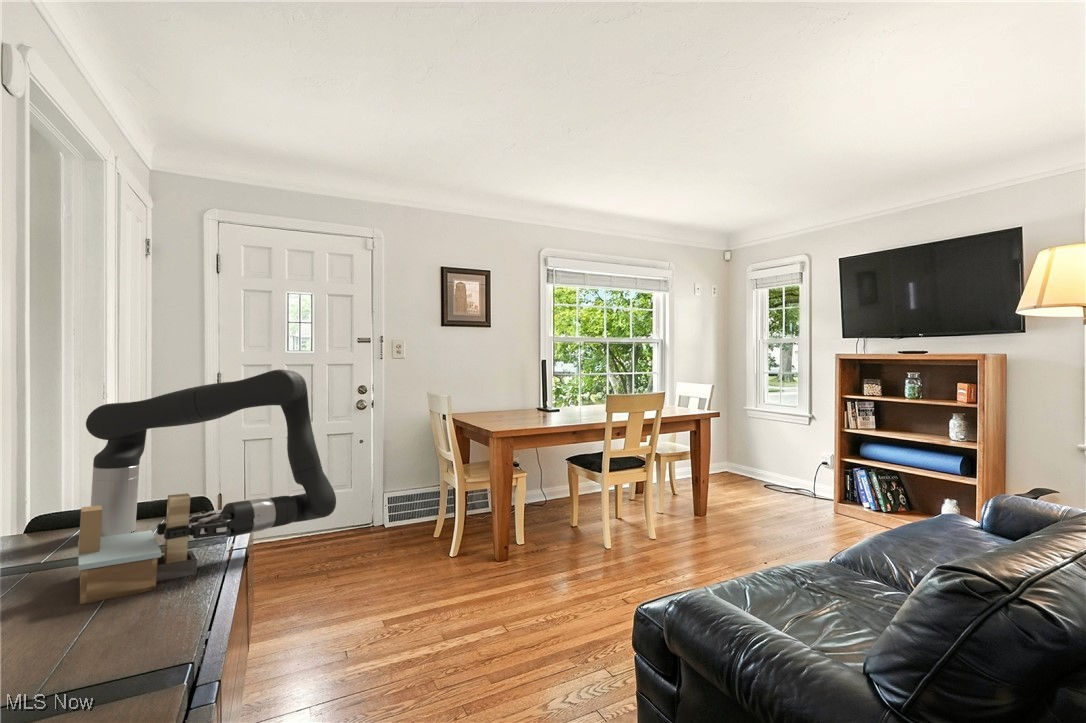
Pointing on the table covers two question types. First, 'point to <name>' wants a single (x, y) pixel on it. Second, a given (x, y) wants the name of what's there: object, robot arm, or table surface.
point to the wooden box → (131, 577)
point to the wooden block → (176, 517)
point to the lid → (111, 543)
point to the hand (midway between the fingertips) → (161, 531)
